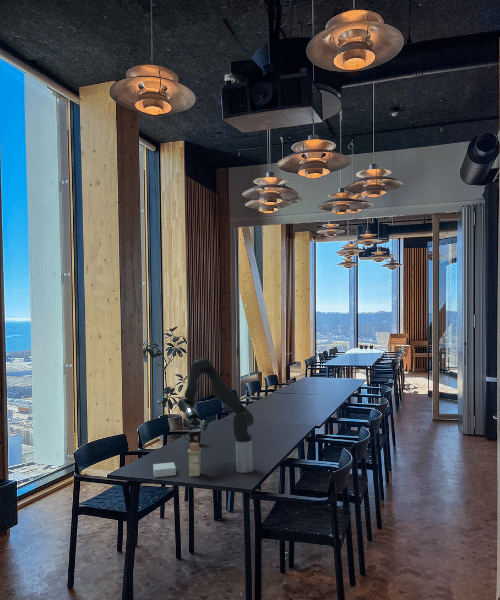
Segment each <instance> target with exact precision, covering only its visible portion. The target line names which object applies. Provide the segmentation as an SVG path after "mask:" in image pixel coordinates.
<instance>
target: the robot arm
mask: <svg viewBox="0 0 500 600" xmlns="http://www.w3.org/2000/svg"><path fill="white" fill-rule="evenodd" d="M204 374H206V375H207V377H208V378H209V379H210V382H211V389H212V394H214V396H215V397H216V399H217V400H218V401H219V402H220V403H222V405H224V406H225V407H227V408H228V409H230V410H231V411H233V413H234V414H235V415H234V416H233V418H232V425H233V426H232V428H233V435H234V438H235V464H236V465H235V466H236V472H237V473H243V474H247V473H251V472H254V454H253V448H252V447H253V442H252V439H253V437H252V434H250V433H249V432H248V428H249V427H252V425H253V424H254V420H255V419H254V417H253V414H252V413H251V412H250V411H249V410H248V409H247V407H246V406H245V405H244V404H243V403H242V402H241V401H240V400H239V398H238V397H236V395H235V393H234V392H233V391H232V390H231V387H229V386H228V384H226V383H225V381H224V380H223V379H222V377H221V376H220V375H219V373H218V372H217V370H216V369H215V367H214V365H213V364H212V362H211V361H210V360H209V359H208V358H206V357H203V358H202V357H201V358H200V359H196V360H194V361H193V362H192V364H191V367H190V373H189V378H188V383H187V386H186V389H185V391H184V398H180V399H179V400H178V402H177V406H178V409H179V410H180V411H181V412H182V413H184V417H185V418H183V420H182V424H183V427H184V428H187V429H188V431H189V430H190V431H191V430H192V427H193V426H194V427H199V428H202V430H203V432H205V431H207V428H208V427H209V426H208V425H209V423H208V421H207V419H206V418H204V419H203V420H202V419H200V415H199V414H198V411H197V410H196V408H195V405H196V402H195V401H196V397H197V394H198V391H199V385H198V384H199V383H198V379H199V377H200V376H202V375H204Z"/></svg>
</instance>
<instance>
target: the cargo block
mask: <svg viewBox="0 0 500 600" xmlns="http://www.w3.org/2000/svg"><path fill="white" fill-rule="evenodd" d="M199 448H200V445H199V443H191V444H190V443H189V449H190V450H198V449H199Z"/></svg>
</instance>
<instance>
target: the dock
mask: <svg viewBox="0 0 500 600" xmlns="http://www.w3.org/2000/svg"><path fill="white" fill-rule="evenodd" d="M152 469H153V470H152V472H153V473H152V474H153V477H154V478H160V477H161V478H162V477H169V476H170V477H171V476H176V475H177V467H176V465H175V462H174V461H173V462H171V461H170V462H162V463H153V464H152Z"/></svg>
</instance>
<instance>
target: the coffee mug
mask: <svg viewBox="0 0 500 600" xmlns="http://www.w3.org/2000/svg"><path fill="white" fill-rule="evenodd" d="M201 433H202V430H201V429H199V428H196V429H195V428H191V431H190V430H188V432H185V433H184V434H183V438H184V439H185V440H187V441H188V442H189V445H190V444H191V443H199V446H200V445H201V436H202V435H201ZM186 435H188V436H189V439H187V438H186V437H185V436H186Z"/></svg>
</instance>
